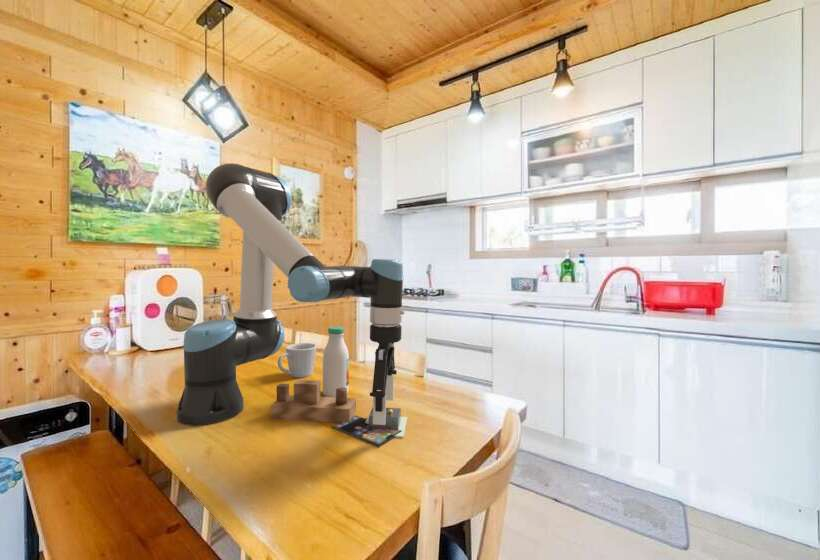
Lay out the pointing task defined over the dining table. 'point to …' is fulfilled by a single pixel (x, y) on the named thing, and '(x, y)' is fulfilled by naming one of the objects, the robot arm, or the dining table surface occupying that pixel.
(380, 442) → the smartphone
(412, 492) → the dining table surface
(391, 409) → the lever cap
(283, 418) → the wooden peg board
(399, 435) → the thin cream card
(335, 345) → the milk bottle
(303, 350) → the mug
